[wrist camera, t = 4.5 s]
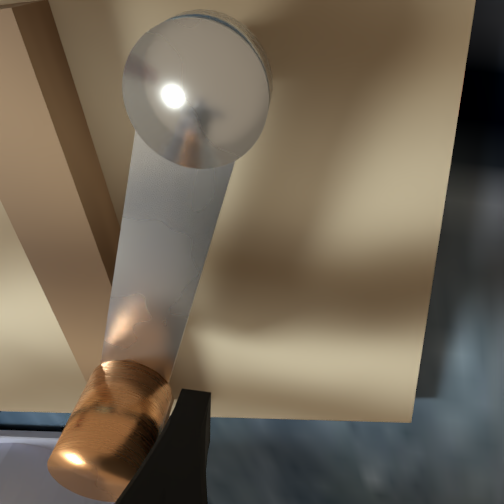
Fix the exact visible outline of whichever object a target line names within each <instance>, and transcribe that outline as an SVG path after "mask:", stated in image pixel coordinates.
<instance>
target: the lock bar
mask: <svg viewBox="0 0 504 504" xmlns="http://www.w3.org/2000/svg"><path fill="white" fill-rule="evenodd" d="M272 91H273V77H272V70H271V66H270V62H269V59H268V57H267V54H266V52H265V50H264V48H263V46H262V45H261V43H260V42H259V40H258V39H257V37H256V36H255V35H254V34H253V33H252V32H251V31H250V30H249V29H248V28H247V27H246V26H245V25H244V24H242V23H241V22H240V21H238V20H237V19H235V18H233V17H231V16H229V15H227V14H225V13H222V12H218V11H214V10H207V9H195V10H189V11H185V12H182V13H179V14H177V15H175V16H173V17H171V18H169V19H167V20H166V21H164V22H162V23H160V24H158V25H157V26H155V27H153V28H151V29H150V30H149V31H147V32H146V33H145V34H144V35H143V36H142V37H141V38H140V39H139V40H138V41H137V42H136V44H135V45H134V47H133V48H132V50H131V52H130V54H129V56H128V58H127V61H126V64H125V67H124V72H123V78H122V92H123V100H124V105H125V108H126V111H127V115H128V117H129V119H130V121H131V124H132V125H133V127H134V129H135V136H134V143H133V149H132V156H131V163H130V169H129V176H128V183H127V190H126V196H125V203H124V210H123V216H122V223H121V230H120V236H119V243H118V250H117V256H116V263H115V270H114V277H113V283H112V290H111V297H110V303H109V310H108V317H107V323H106V330H105V337H104V343H103V350H102V357H101V363H100V365H99V366H97V367H96V368H95V369H94V370H93V372H92V374H91V376H90V378H89V380H88V382H87V384H86V386H85V388H84V390H83V392H82V394H81V396H80V398H79V400H78V402H77V404H76V406H75V408H74V410H73V412H72V414H71V416H70V418H69V420H68V422H67V424H66V426H65V428H64V430H63V432H62V434H61V436H60V438H59V440H58V441H57V443H56V445H55V447H54V449H53V451H52V453H51V455H50V457H49V459H48V462H47V468H48V471H49V473H50V474H51V476H52V477H53V478H54V479H55V480H56V481H57V482H58V483H59V484H60V485H62V486H63V487H65V488H66V489H68V490H70V491H72V492H74V493H76V494H78V495H81V496H83V497H86V498H90V499H94V500H98V501H105V502H116V501H117V499H118V498H119V496H120V495H121V493H122V492H123V491H124V489H125V488H126V486H127V485H128V484H129V482H130V481H131V479H132V478H133V476H134V475H135V473H136V472H137V470H138V469H139V467H140V466H141V464H142V462H143V461H144V459H145V458H146V456H147V455H148V453H149V451H150V450H151V448H152V447H153V445H154V444H155V442H156V440H157V438H158V437H159V435H160V433H161V432H162V429H163V425H164V422H165V419H166V415H167V412H168V409H169V405H170V402H171V398H172V391H171V388H170V386H169V381H170V378H171V374H172V371H173V368H174V364H175V361H176V358H177V354H178V351H179V348H180V344H181V341H182V338H183V334H184V331H185V328H186V324H187V321H188V318H189V314H190V311H191V308H192V304H193V301H194V298H195V294H196V291H197V288H198V285H199V281H200V278H201V275H202V271H203V268H204V265H205V261H206V258H207V255H208V251H209V248H210V245H211V241H212V238H213V235H214V231H215V228H216V225H217V221H218V218H219V215H220V211H221V208H222V205H223V201H224V198H225V195H226V191H227V188H228V185H229V181H230V178H231V175H232V171H233V168H234V165H235V162H236V160H237V159H239V158H240V157H242V156H243V155H244V154H246V153H247V152H248V151H249V150H250V149H251V148H252V147H253V145H254V144H255V143H256V141H257V140H258V138H259V136H260V135H261V133H262V131H263V128H264V126H265V122H266V119H267V115H268V111H269V106H270V102H271V98H272Z"/></svg>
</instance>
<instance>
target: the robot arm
mask: <svg viewBox="0 0 504 504" xmlns="http://www.w3.org/2000/svg"><path fill="white" fill-rule="evenodd" d="M210 417H211V392H205V391H198V390H190V389H183V388H182V389H181V392H180V394H179V397H178V400H177V402H176V405H175V408H174V410H173V412H172V414H171V415H170V417H169V419H168V421H167V423H166V425H165V426H164V428H163V430H162V432H161V433H160V435H159V437H158V438H157V440H156V442H155V444H154V445H153V447H152V448H151V450H150V451H149V453H148V455H147V456H146V458H145V459H144V461H143V462H142V464H141V466H140V467H139V469H138V470H137V472H136V473H135V475H134V476H133V478H132V479H131V481H130V482H129V484H128V485H127V486H126V488H125V489H124V491H123V492H122V493H121V495H120V496H119V498H118V499H117V501H116V502H105V501H98V500H94V499H90V498H86V497H83V496H81V495H78V494H76V493H74V492H72V491H70V490H68V489H66V488H65V487H63V486H62V485H60V484H59V483H58V482H57V481H56V480H55V479H54V478H53V477H52V476H51V474H50V473H49V471H48V468H47V462H48V459H49V457H50V455H51V453H52V451H53V449H54V447H55V445H56V443H57V441H58V440H59V438H60V436H61V434H62V432H50V431H21V430H0V504H208V502H207V487H206V464H207V454H208V449H209V443H210Z"/></svg>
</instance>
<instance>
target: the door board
mask: <svg viewBox="0 0 504 504" xmlns="http://www.w3.org/2000/svg"><path fill="white" fill-rule="evenodd" d="M475 2H476V0H0V411H20V412H55V413H72V412H73V410H74V408H75V406H76V404H77V402H78V400H79V398H80V396H81V394H82V392H83V390H84V388H85V386H86V384H87V382H88V380H89V378H90V376H91V374H92V372H93V370H94V369H95V368H96V367H97V366H99V365H100V363H101V357H102V350H103V343H104V337H105V330H106V323H107V317H108V310H109V303H110V297H111V290H112V283H113V277H114V270H115V263H116V256H117V250H118V243H119V236H120V230H121V223H122V216H123V210H124V203H125V196H126V190H127V183H128V176H129V169H130V163H131V156H132V149H133V143H134V136H135V129H134V127H133V125H132V124H131V121H130V119H129V117H128V115H127V111H126V108H125V105H124V100H123V92H122V78H123V72H124V67H125V64H126V61H127V58H128V56H129V54H130V52H131V50H132V48H133V47H134V45H135V44H136V42H137V41H138V40H139V39H140V38H141V37H142V36H143V35H144V34H145V33H146V32H147V31H149V30H150V29H151V28H153V27H155V26H157V25H158V24H160V23H162V22H164V21H166V20H167V19H169V18H171V17H173V16H175V15H177V14H179V13H182V12H185V11H189V10H195V9H207V10H214V11H218V12H222V13H225V14H227V15H229V16H231V17H233V18H235V19H237V20H238V21H240V22H241V23H242V24H244V25H245V26H246V27H247V28H248V29H249V30H250V31H251V32H252V33H253V34H254V35H255V36H256V37H257V39H258V40H259V42H260V43H261V45H262V46H263V48H264V50H265V52H266V54H267V57H268V59H269V62H270V66H271V70H272V77H273V91H272V98H271V102H270V106H269V111H268V115H267V119H266V122H265V126H264V128H263V131H262V133H261V135H260V136H259V138H258V140H257V141H256V143H255V144H254V145H253V147H252V148H251V149H250V150H249V151H248V152H247V153H246V154H244V155H243V156H242V157H240V158H239V159H237V160H236V162H235V165H234V168H233V171H232V175H231V178H230V181H229V185H228V188H227V191H226V195H225V198H224V201H223V205H222V208H221V211H220V215H219V218H218V221H217V225H216V228H215V231H214V235H213V238H212V241H211V245H210V248H209V251H208V255H207V258H206V261H205V265H204V268H203V271H202V275H201V278H200V281H199V285H198V288H197V291H196V294H195V298H194V301H193V304H192V308H191V311H190V314H189V318H188V321H187V324H186V328H185V331H184V334H183V338H182V341H181V344H180V348H179V351H178V354H177V358H176V361H175V364H174V368H173V371H172V374H171V378H170V381H169V386H170V388H171V391H172V398H171V402H170V405H169V409H168V412H167V415H166V419H165V422H164V425H163V428H164V426H165V425H166V423H167V421H168V419H169V416H170V415H171V414H172V412H173V410H174V408H175V405H176V402H177V400H178V397H179V394H180V392H181V389H182V388H183V389H190V390H198V391H205V392H211V417H230V418H265V419H300V420H335V421H370V422H405V423H411V420H412V413H413V406H414V400H415V393H416V387H417V380H418V374H419V367H420V361H421V354H422V348H423V341H424V335H425V328H426V322H427V315H428V309H429V302H430V295H431V289H432V282H433V276H434V269H435V263H436V256H437V250H438V243H439V237H440V230H441V224H442V217H443V211H444V204H445V198H446V191H447V184H448V178H449V171H450V165H451V158H452V152H453V145H454V139H455V132H456V126H457V119H458V113H459V106H460V100H461V93H462V87H463V80H464V73H465V67H466V60H467V54H468V47H469V41H470V34H471V28H472V21H473V15H474V8H475ZM162 430H163V429H162Z"/></svg>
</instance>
